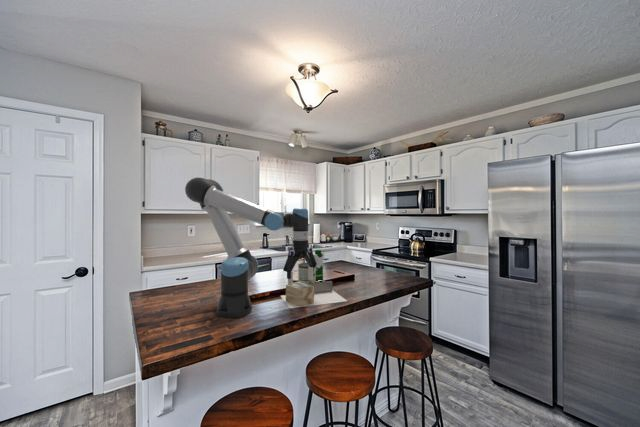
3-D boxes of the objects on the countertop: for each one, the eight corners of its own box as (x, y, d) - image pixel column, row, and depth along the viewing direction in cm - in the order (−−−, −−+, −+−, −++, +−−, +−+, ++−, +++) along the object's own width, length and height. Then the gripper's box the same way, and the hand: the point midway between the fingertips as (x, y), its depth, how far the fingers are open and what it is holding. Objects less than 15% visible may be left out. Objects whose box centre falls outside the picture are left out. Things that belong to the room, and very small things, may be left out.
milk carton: (314, 283, 170) (315, 251, 169) (305, 280, 176) (306, 249, 176) (325, 281, 175) (325, 250, 175) (316, 278, 182) (316, 248, 182)
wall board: (289, 309, 127) (289, 308, 127) (280, 296, 144) (280, 295, 144) (347, 302, 138) (347, 300, 138) (332, 291, 155) (332, 290, 155)
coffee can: (299, 285, 165) (299, 262, 165) (316, 286, 164) (317, 263, 164) (296, 290, 155) (296, 266, 154) (314, 291, 154) (314, 266, 153)
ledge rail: (297, 296, 145) (298, 283, 145) (296, 295, 147) (296, 282, 147) (332, 292, 153) (332, 280, 153) (330, 291, 155) (331, 279, 154)
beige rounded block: (302, 306, 129) (302, 289, 128) (285, 300, 137) (285, 284, 137) (314, 302, 134) (314, 286, 134) (297, 296, 143) (297, 281, 142)
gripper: (286, 242, 123) (286, 289, 124) (323, 238, 141) (323, 278, 142) (275, 241, 128) (275, 286, 129) (313, 236, 147) (313, 276, 147)
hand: (300, 282), depth 135 cm, fingers open, 13 cm apart
